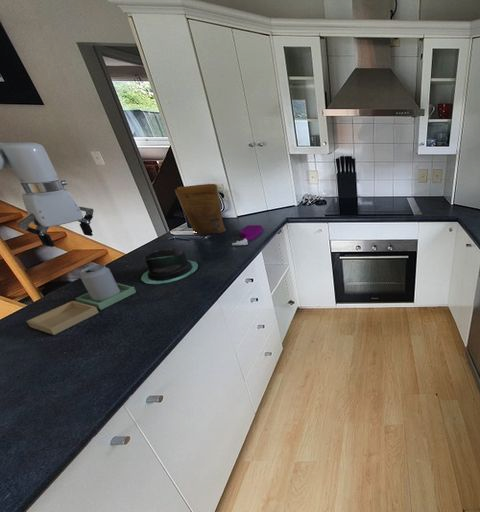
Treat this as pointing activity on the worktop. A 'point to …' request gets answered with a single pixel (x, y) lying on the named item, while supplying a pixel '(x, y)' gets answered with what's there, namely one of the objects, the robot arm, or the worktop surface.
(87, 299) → the far tray
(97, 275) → the can
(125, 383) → the worktop surface
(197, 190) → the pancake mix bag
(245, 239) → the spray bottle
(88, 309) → the near tray
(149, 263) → the black and teal hat
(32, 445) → the worktop surface
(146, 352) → the worktop surface
